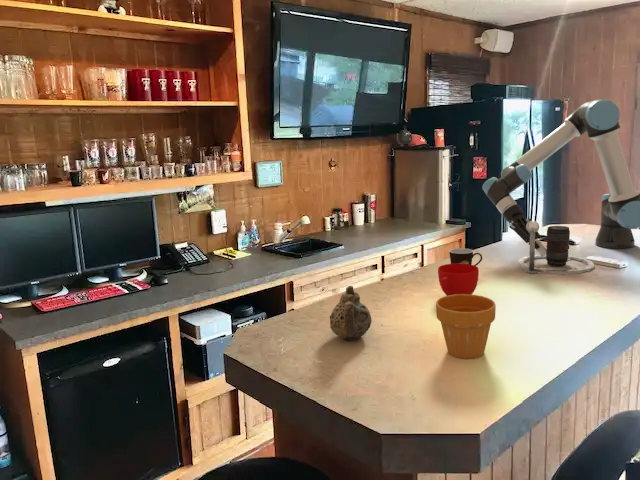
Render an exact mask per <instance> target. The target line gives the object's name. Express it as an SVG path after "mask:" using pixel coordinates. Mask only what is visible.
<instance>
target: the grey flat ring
mask: <svg viewBox="0 0 640 480" xmlns="http://www.w3.org/2000/svg"><path fill="white" fill-rule="evenodd" d="M536 259H546V255H545V256H541V255H540V254H535V260H536ZM587 259H588V258H585V257H580V256H575V255H569V254H568V260H567V262H570V261H572V260H573V261H576V262H581V263H583V264H585V265H586V266H583V267H574V269H549V268H548V269H546V268H544V267H540V268H539V267H535V266H534V269H535V270H538V273H543V274H549V275H550V274H553V275H554V274H555V275H571V274H582V273H586V272H591V271H592V270H594V269H595V264H594V262H593V261H591V260H590V259H588V260H587ZM517 262H518V263H517V265H518V266H519V267H521V269H523V270H526V269H529V264H527V263H526V262H529V255H528V256H523V257H520V258H519V259H518V261H517Z"/></svg>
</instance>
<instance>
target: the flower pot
mask: <svg viewBox="0 0 640 480" xmlns="http://www.w3.org/2000/svg"><path fill="white" fill-rule="evenodd" d="M496 306H497V305H496V303H495V301H494V300H492V299H491V298H489V297H488V296H487V297H486V296H482V295H478V294H472V295H470V294H455V295H449V296H447V295H445V296H442V297H439V298H438V299H437V300H436V301H435V313H436V319H437V320H438V321H439V322H440V324H441V330H442V333H443V337H444V341H445V346H446V349H447V351H448V353H449V354H450V356H453V357H455V358H459V359H466V360H467V359H476V358H480V357H482V356H483V355H484V354H485V351H486V348H487V347H486V346H487V342H488V339H489V338H488V337H489V334H490V330H491V329H490V328H491V324H492V323H493V322H495V319H496Z"/></svg>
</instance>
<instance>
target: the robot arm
mask: <svg viewBox="0 0 640 480" xmlns="http://www.w3.org/2000/svg"><path fill="white" fill-rule="evenodd" d="M620 117H621V112H620V108H619V106H618V105H617V103H615V102H613V101H612V100H609V99H606V98H604V99H603V98H602V99H601V98H599V99H594V100H590V101H586V102H584V103H583V104H580V106H579V107H578V108H577V109H575V110H574V111H573V112H572V113H571V114H570V115H568V116H567V117H566V118H564V119H563V120H564V121H563V123H561V125H560V126H559V127H557V128H556V129H554V130H553V131H552V132H551V133H549V134H548V135H547V136H546V137H544V138H543V139H542V140H540V141H539V142H538V143H537V144H536V145H533V147H532V148H531V149H529V150H527V152H525V153H524V154H523V155H521V156H520V157H519V158H517V160H515V161H514V162H513V163H511V164H510V165H508V166H507V165H506V166H505V167H504V168H503V169H502V170H501V173H500V178H497V177H495V176H493V177H491V178H488V179H487V180H486V181H484V183H483V184H482V187H481V188H482V191H483V192H484V193H485V195H486V197H488V199H489V200H490V201H491V202H492V204H493V205H494V206H495V207H496V209H497V210H498V212H499V213H500V214H501V215H502V217H503V218H504V219H505V221H506V222H508V223H510V225H509V226H508V227H509V228H510V229H511V230H512V231H514V232H515V234H517V235H518V236H519V237H520V238H521V239H522V240H523V241H524V242H525V243H526V244H528V245H529V246H530V232H528V230H527V228H526V225H527V223H528V222H529V221H533V220H532V218H529V219H528V218H527V217H525V215H523V213H524V212H523V209H522V207H521V206H520V205H519V204H517V203H518V202H517V201H516V200H515V199H514V198H513V196H512V195H510V194H511V193H512V192H514V191H515V190H517V189H518V188H520V187H521V186H523V185H524V184H526V183H528V181H530V180H531V179H532V178H533V174H532V172H531V171H532V170H534V169H535V168H536V167H537V166H539V165H540V164H542V163H543V162H544V161H546V160H547V159H548V158H549V157H551V156H553V155H554V154H555V153H556V152H558V151H559V150H560V149H561V148H563V147H564V146H565V145H567V144H568V143H569V142H570V141H572V140H573V139H574V138H577V137H581V136H582V135H583V134H586V133H587V136H588V139H590V140H592V141H593V142H594V145H595V149H596V151H597V155H598V158H599V161H600V165H601V168H602V171H603V174H604V177H605V181H606V184H607V187H608V191H609V193H604V194H603V195H602V196H601V207H600V209H601V210H600V213H601V214H600V228H599V231H598V233H597V236H596V238H595V240H594V241H595V243H594V244H595V246H598V247H601V248H607V249H629V248H634V247H635V237H634V235H633V232H632V230H635V229H638V228H640V191H639V190H638V189H635V187H634V184H633V180H632V177H631V173H630V171H629V170H630V169H629V168H628V163H627V160H626V157H625V153H624V151H623V147H622V144H621V141H620V137H619V134H618V133H619V131H620V130H621V125H620V122H619V120H620ZM539 238H542V237H541V235H540V233H539V230H538V231H537V232H535V239H539ZM546 250H547V247H545V246H544V244H543V243H542V242H541V240H539V241H535V251H537V253H538V255H541V256H545V255H546Z"/></svg>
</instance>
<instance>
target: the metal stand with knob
mask: <svg viewBox="0 0 640 480" xmlns="http://www.w3.org/2000/svg"><path fill="white" fill-rule="evenodd" d="M526 228H527V230H528V232H530V245H529V255H528V256H529V260H528V265H529V269H524V270H525V274H527V275H528V274H529V275H536V274H538V273H539V272H538V270H535V269H534V267H535V260H536V259H535V255H536V254H535V251H536V249H535V241H542V240H545V239H546V240H547V236H544V237H540V238H539V239H535V232H537V231H538V232H539V231H540V230H539V229H540V225H539V222H537V221H536V220H532V221H529V222H528V223H527V225H526Z"/></svg>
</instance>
